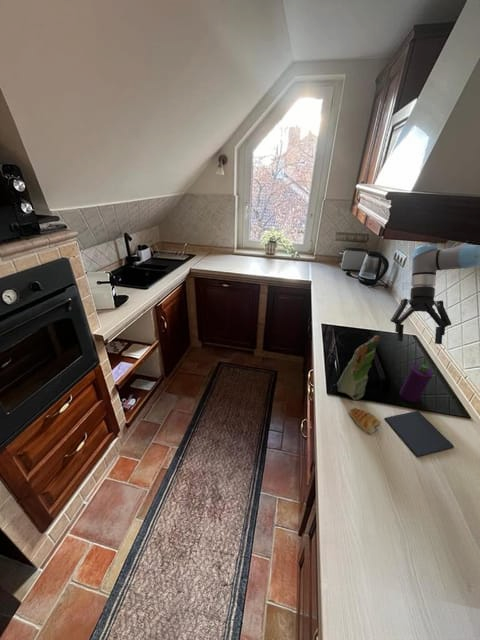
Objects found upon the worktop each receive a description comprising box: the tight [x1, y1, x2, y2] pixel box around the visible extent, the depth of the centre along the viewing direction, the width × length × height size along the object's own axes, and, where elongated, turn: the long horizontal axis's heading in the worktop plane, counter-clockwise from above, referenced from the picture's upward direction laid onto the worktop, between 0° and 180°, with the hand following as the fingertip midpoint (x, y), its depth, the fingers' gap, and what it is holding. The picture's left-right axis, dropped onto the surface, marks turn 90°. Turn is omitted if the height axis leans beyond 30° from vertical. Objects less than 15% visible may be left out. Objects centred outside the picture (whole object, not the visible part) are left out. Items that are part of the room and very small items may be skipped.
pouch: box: [336, 334, 381, 401], centre depth 93 cm, size 11×12×25 cm
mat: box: [384, 410, 455, 458], centre depth 84 cm, size 14×14×1 cm
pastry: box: [349, 407, 381, 435], centre depth 86 cm, size 9×7×4 cm
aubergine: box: [399, 364, 433, 403], centre depth 94 cm, size 6×6×15 cm
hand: (418, 342), depth 97 cm, fingers open, 13 cm apart
